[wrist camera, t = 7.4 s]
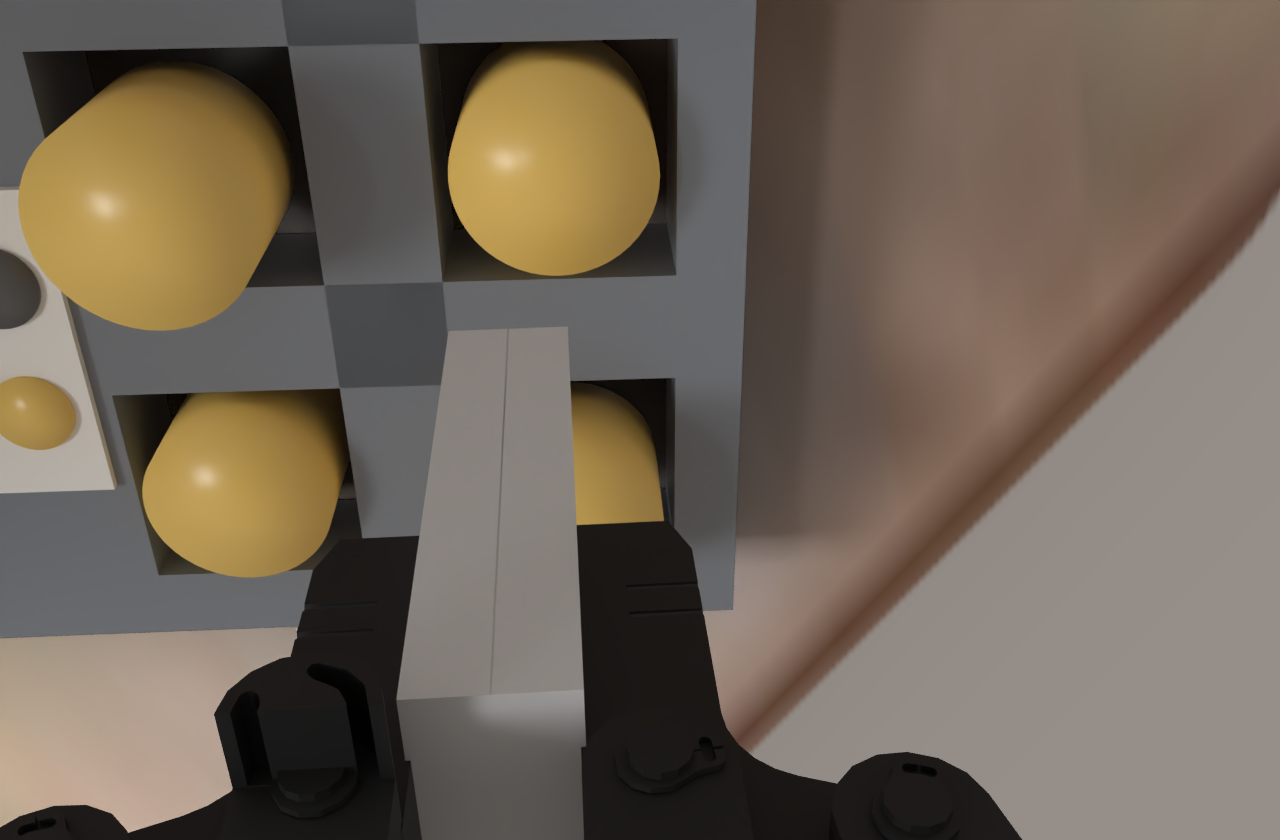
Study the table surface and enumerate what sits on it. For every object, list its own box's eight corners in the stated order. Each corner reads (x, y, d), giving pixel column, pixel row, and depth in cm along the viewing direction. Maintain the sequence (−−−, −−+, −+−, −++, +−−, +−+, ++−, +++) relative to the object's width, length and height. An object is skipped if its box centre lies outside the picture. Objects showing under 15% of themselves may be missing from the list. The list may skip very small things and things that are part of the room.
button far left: (201, 497, 32) (163, 581, 29) (168, 353, 30) (123, 427, 27) (364, 491, 32) (343, 573, 29) (343, 348, 30) (318, 421, 27)
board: (-23, 567, 33) (-79, 649, 30) (-247, -67, 25) (-353, -36, 22) (720, 539, 34) (734, 618, 31) (739, -84, 26) (761, -56, 23)
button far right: (486, 533, 30) (478, 625, 27) (474, 384, 28) (462, 466, 25) (656, 526, 31) (665, 617, 28) (655, 378, 28) (666, 460, 25)
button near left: (110, 261, 26) (51, 334, 23) (61, 62, 24) (-10, 115, 21) (308, 255, 26) (275, 327, 23) (277, 58, 24) (236, 110, 21)
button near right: (469, 216, 28) (456, 278, 25) (453, 30, 26) (438, 74, 23) (650, 212, 29) (659, 272, 26) (649, 26, 26) (659, 69, 23)
